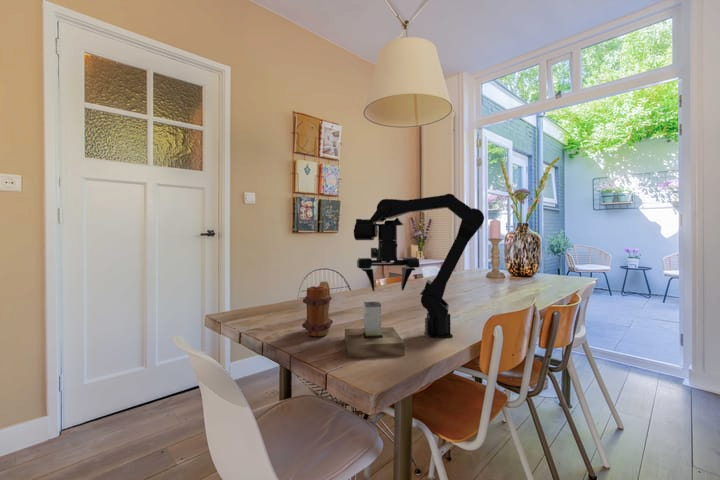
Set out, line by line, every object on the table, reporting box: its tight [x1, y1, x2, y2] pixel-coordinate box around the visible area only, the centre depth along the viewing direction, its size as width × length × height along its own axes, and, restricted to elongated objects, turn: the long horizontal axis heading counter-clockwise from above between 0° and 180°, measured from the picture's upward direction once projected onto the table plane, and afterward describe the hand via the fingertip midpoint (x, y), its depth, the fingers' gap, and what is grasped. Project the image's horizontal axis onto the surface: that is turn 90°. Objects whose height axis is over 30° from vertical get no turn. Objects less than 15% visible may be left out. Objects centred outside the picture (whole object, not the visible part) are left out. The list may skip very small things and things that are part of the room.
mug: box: [301, 281, 334, 338], centre depth 100 cm, size 15×8×15 cm, turn 168°
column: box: [363, 301, 382, 336], centre depth 87 cm, size 4×4×8 cm
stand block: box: [344, 326, 406, 358], centre depth 87 cm, size 14×14×4 cm
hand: (387, 290), depth 101 cm, fingers open, 9 cm apart
